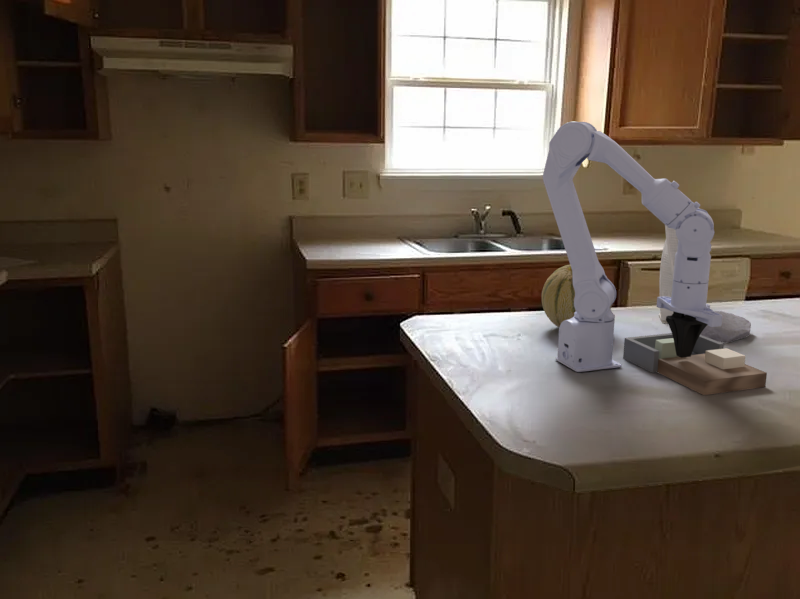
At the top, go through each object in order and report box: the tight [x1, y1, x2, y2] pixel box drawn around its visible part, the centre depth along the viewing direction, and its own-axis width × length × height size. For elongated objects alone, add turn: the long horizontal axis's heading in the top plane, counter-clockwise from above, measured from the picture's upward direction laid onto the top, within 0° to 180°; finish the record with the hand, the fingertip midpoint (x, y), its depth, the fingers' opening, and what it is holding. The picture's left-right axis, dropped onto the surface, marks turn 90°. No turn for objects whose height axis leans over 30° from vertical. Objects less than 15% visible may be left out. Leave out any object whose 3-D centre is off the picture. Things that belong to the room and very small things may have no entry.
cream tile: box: [705, 348, 746, 369], centre depth 126 cm, size 4×4×2 cm
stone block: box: [700, 310, 752, 344], centre depth 152 cm, size 12×5×10 cm
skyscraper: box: [658, 224, 678, 325], centre depth 162 cm, size 8×8×28 cm
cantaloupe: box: [541, 264, 613, 328], centre depth 155 cm, size 15×15×15 cm
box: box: [622, 332, 725, 374], centre depth 135 cm, size 15×9×4 cm, turn 108°
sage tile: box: [655, 338, 679, 359], centre depth 132 cm, size 4×4×2 cm
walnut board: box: [657, 354, 768, 396], centre depth 125 cm, size 12×12×2 cm
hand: (683, 356), depth 127 cm, fingers closed
